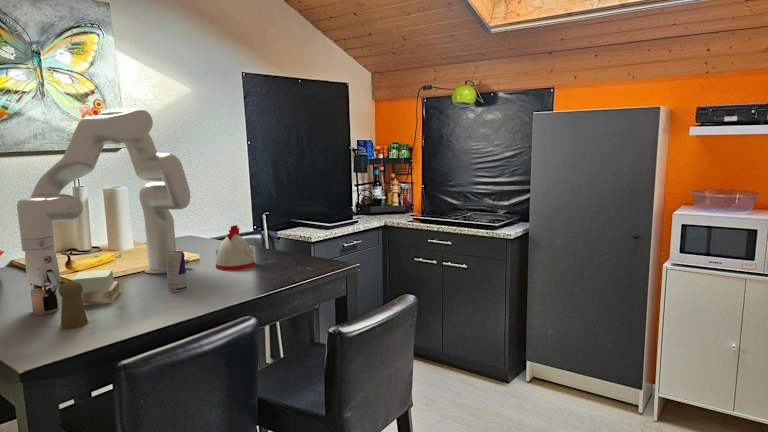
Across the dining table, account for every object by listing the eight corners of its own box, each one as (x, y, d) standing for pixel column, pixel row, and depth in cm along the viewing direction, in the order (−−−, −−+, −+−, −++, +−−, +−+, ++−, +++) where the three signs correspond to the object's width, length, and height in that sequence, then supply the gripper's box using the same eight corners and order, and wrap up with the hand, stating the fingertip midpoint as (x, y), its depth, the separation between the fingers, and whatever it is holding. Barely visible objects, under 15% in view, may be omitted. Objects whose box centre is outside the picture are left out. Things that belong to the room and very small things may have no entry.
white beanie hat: (260, 262, 199) (258, 223, 197) (245, 271, 186) (242, 229, 183) (226, 261, 201) (223, 222, 199) (208, 270, 188) (205, 229, 186)
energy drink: (190, 288, 164) (187, 250, 163) (178, 293, 159) (175, 254, 158) (176, 287, 166) (173, 250, 164) (164, 291, 161) (161, 253, 159)
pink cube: (61, 306, 148) (59, 286, 147) (54, 313, 143) (52, 292, 142) (37, 309, 147) (35, 288, 146) (29, 315, 141) (26, 294, 140)
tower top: (113, 282, 160) (112, 269, 160) (108, 289, 152) (107, 276, 151) (80, 285, 157) (78, 272, 157) (73, 293, 149) (72, 279, 148)
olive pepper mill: (68, 321, 136) (63, 280, 134) (92, 320, 136) (88, 279, 135) (55, 329, 130) (50, 286, 128) (81, 328, 130) (76, 285, 129)
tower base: (119, 293, 162) (118, 281, 161) (112, 304, 152) (111, 290, 151) (80, 297, 159) (78, 284, 158) (69, 308, 148) (68, 294, 148)
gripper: (67, 244, 140) (74, 309, 143) (39, 238, 150) (46, 299, 153) (36, 249, 134) (44, 317, 136) (9, 242, 144) (17, 306, 146)
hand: (45, 307), depth 144 cm, fingers closed on pink cube, 6 cm apart
